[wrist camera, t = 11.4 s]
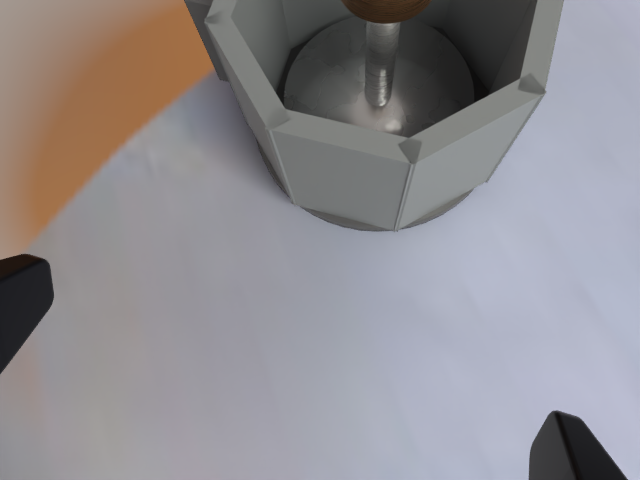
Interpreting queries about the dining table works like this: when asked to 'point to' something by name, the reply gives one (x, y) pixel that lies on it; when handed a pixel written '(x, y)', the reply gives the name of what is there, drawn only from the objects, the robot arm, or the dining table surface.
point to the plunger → (380, 71)
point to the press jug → (371, 145)
